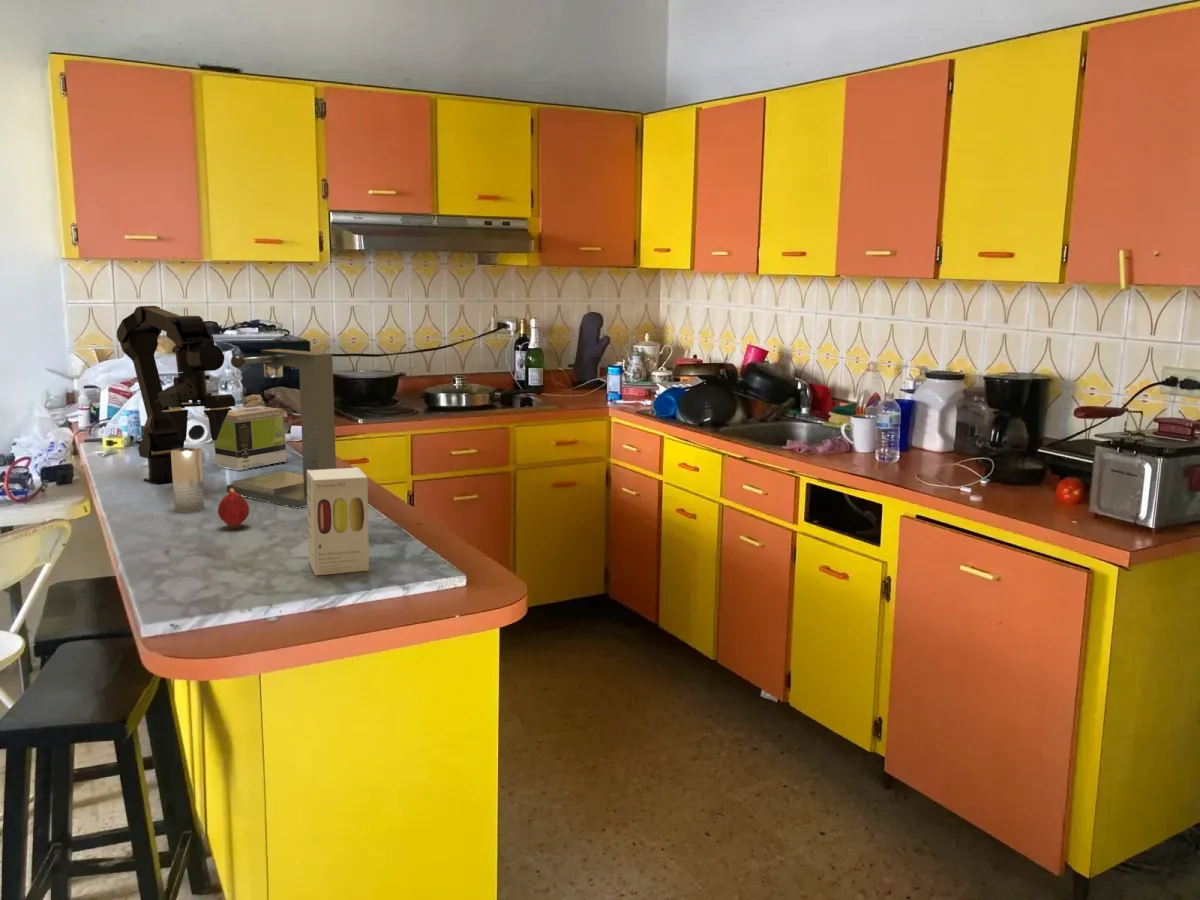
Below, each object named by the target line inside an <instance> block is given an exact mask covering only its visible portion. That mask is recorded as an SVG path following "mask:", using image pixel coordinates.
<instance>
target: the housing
mask: <svg viewBox="0 0 1200 900" xmlns="http://www.w3.org/2000/svg"><path fill="white" fill-rule="evenodd" d="M171 463H172V479H173V481H172V493H173V508H174V509H173V510H174V512H175V513H178V514H179V513H180V514H190V513H191V514H192V512H194V513H198V512H197V511H199V512H201V511H200V510H202V511H204V510H205V509H204V508H206V506H205V492H204V491H205V489H204V488H205V487H204V472H203V457H202V448H200V447H184V448H177V449H173V450H171ZM203 509H204V510H203Z"/></svg>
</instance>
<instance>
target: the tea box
mask: <svg viewBox="0 0 1200 900" xmlns="http://www.w3.org/2000/svg"><path fill="white" fill-rule="evenodd" d="M285 432H286V431H285V417H284V409H283V408H279V407H278V408H275V407H268V406H262V405H258V406H251V407H243V408H235V409H232V410H229V412H228V414H227V416H226V418H225V420H224V422H223V425H222V427H221V430H220V432H219V435H218V438H217V440H213V441H214V454H215V455H214V457H215V464H216V465H219V466H223V467H229V468H233V469H237V470H239V469H244V468H250V467H255V466H260V465H264V464H270V463H276V462H281V461H286V460H287V449H286V447H287V446H286V433H285Z"/></svg>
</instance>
